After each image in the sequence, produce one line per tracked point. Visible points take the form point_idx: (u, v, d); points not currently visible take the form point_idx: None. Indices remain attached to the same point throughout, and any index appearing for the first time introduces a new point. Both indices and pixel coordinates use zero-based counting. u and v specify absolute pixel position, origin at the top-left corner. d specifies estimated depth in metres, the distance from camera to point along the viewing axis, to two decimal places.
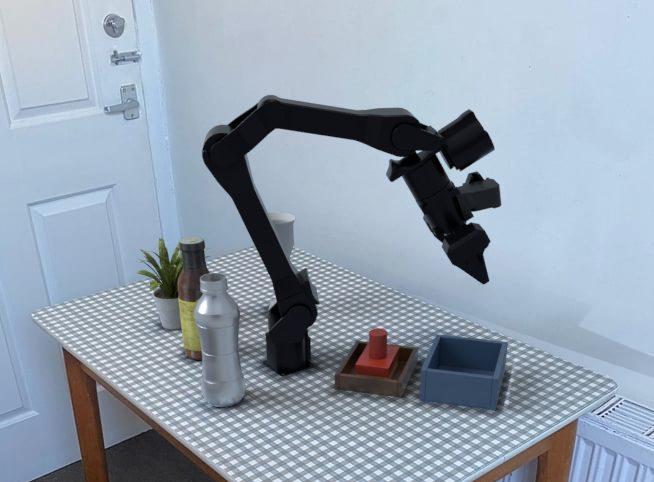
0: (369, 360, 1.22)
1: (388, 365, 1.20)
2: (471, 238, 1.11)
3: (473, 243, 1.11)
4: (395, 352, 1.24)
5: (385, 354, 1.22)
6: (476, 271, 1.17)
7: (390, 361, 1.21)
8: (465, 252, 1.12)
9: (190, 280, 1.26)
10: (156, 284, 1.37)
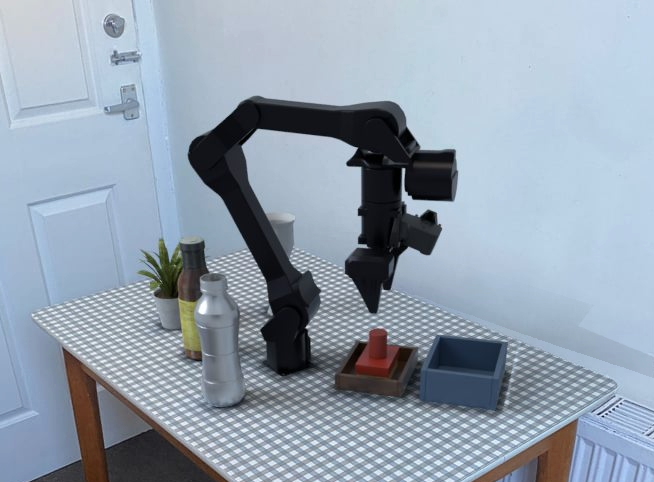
0: (369, 360, 1.22)
1: (388, 365, 1.20)
2: (372, 262, 1.06)
3: (371, 267, 1.06)
4: (395, 352, 1.24)
5: (385, 354, 1.22)
6: (368, 296, 1.13)
7: (390, 361, 1.21)
8: (360, 270, 1.07)
9: (190, 280, 1.26)
10: (156, 284, 1.37)
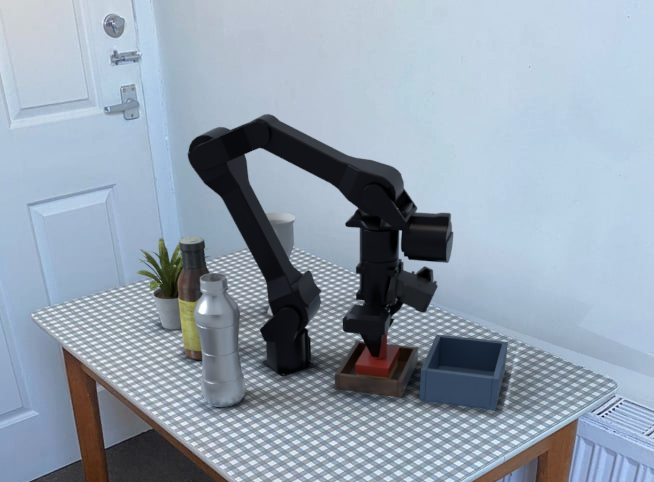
0: (369, 360, 1.22)
1: (388, 365, 1.20)
2: (369, 320, 1.10)
3: (368, 325, 1.11)
4: (395, 352, 1.24)
5: (385, 354, 1.22)
6: (370, 341, 1.19)
7: (390, 361, 1.21)
8: (357, 328, 1.11)
9: (190, 280, 1.26)
10: (156, 284, 1.37)
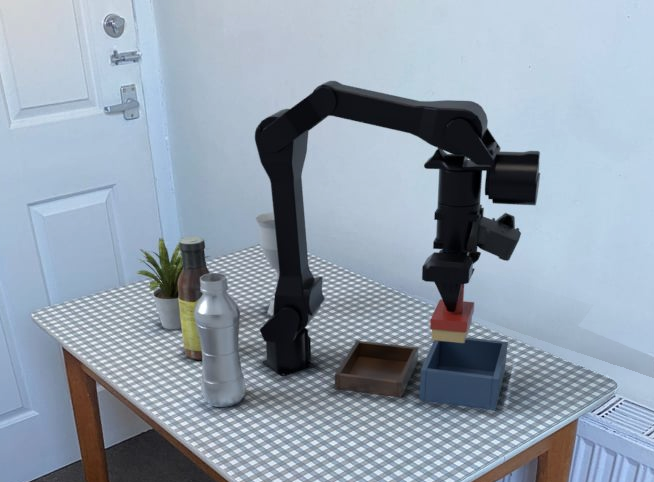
0: (444, 315, 1.14)
1: (466, 319, 1.12)
2: (452, 267, 1.03)
3: (451, 273, 1.03)
4: (471, 307, 1.16)
5: (461, 308, 1.14)
6: (447, 294, 1.12)
7: (467, 316, 1.13)
8: (439, 276, 1.04)
9: (190, 280, 1.26)
10: (156, 284, 1.37)
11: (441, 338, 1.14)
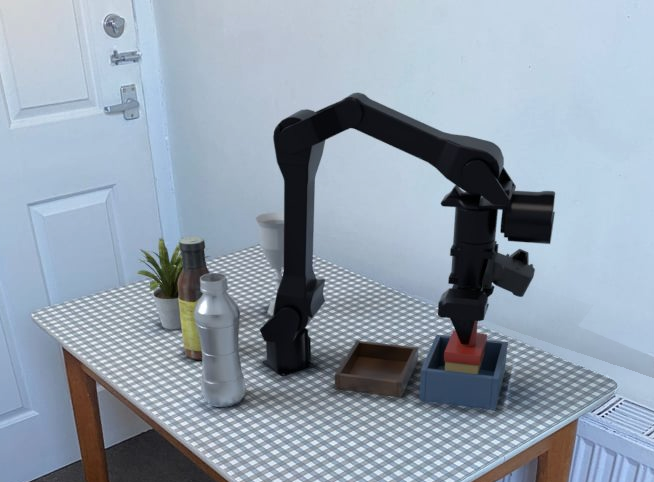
0: (458, 348, 1.16)
1: (479, 353, 1.14)
2: (468, 304, 1.04)
3: (466, 310, 1.05)
4: (484, 339, 1.18)
5: (475, 341, 1.16)
6: (461, 328, 1.14)
7: (481, 348, 1.15)
8: (454, 313, 1.05)
9: (190, 280, 1.26)
10: (156, 284, 1.37)
11: (454, 370, 1.16)
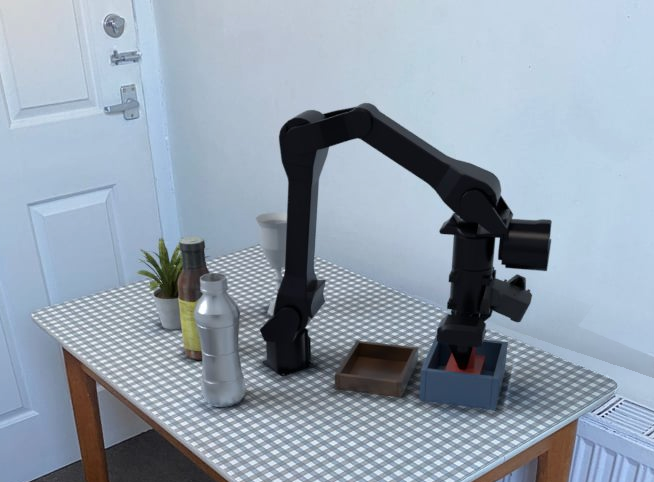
0: (456, 370, 1.18)
1: None
2: (466, 331, 1.06)
3: (465, 336, 1.07)
4: (482, 361, 1.20)
5: (473, 363, 1.18)
6: (459, 354, 1.15)
7: (479, 371, 1.17)
8: (453, 339, 1.07)
9: (190, 280, 1.26)
10: (156, 284, 1.37)
11: None
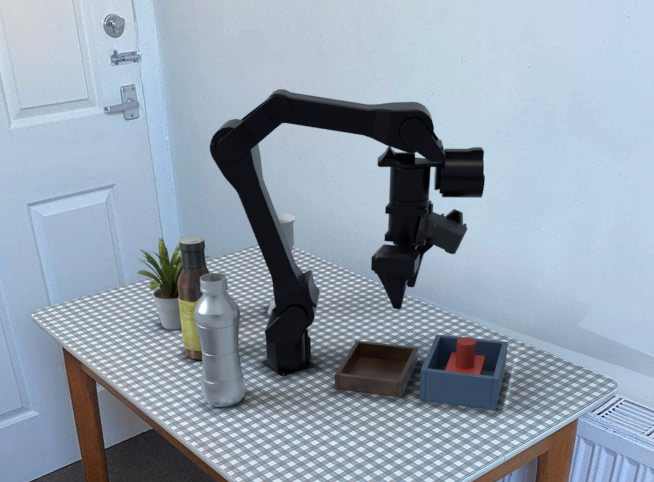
0: (456, 370, 1.18)
1: None
2: (398, 258, 1.09)
3: (397, 264, 1.09)
4: (482, 361, 1.20)
5: (473, 363, 1.18)
6: (393, 292, 1.16)
7: (479, 371, 1.17)
8: (386, 267, 1.10)
9: (190, 280, 1.26)
10: (156, 284, 1.37)
11: None
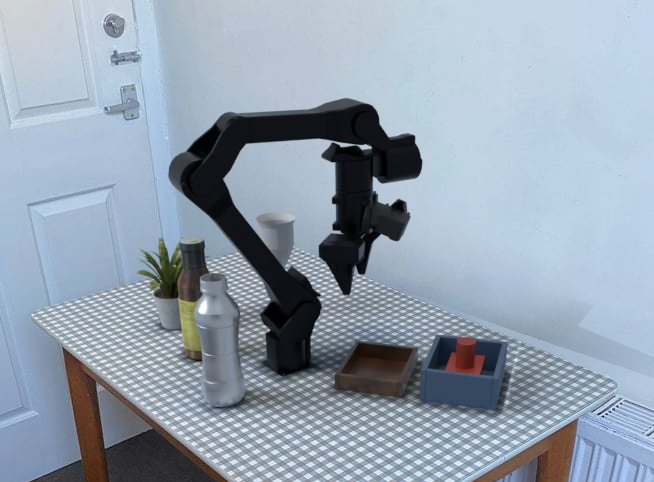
0: (456, 370, 1.18)
1: None
2: (343, 246, 1.15)
3: (343, 251, 1.15)
4: (482, 361, 1.20)
5: (473, 363, 1.18)
6: (341, 279, 1.22)
7: (479, 371, 1.17)
8: (332, 254, 1.16)
9: (190, 280, 1.26)
10: (156, 284, 1.37)
11: None
